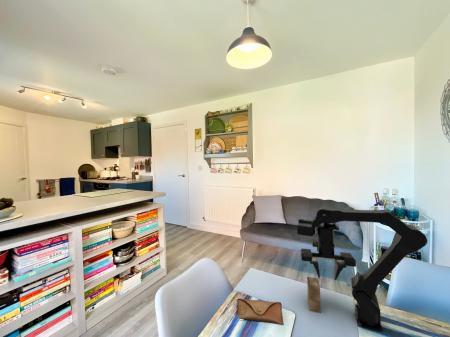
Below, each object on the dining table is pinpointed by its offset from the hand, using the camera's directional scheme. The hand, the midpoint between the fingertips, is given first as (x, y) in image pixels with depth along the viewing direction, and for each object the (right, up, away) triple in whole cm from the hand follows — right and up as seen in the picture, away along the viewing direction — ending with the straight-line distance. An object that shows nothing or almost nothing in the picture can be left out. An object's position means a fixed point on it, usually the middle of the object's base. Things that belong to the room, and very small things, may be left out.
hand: (326, 278), depth 75 cm
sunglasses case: (-27, -13, -2) cm, 30 cm away
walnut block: (-4, -12, +2) cm, 13 cm away
